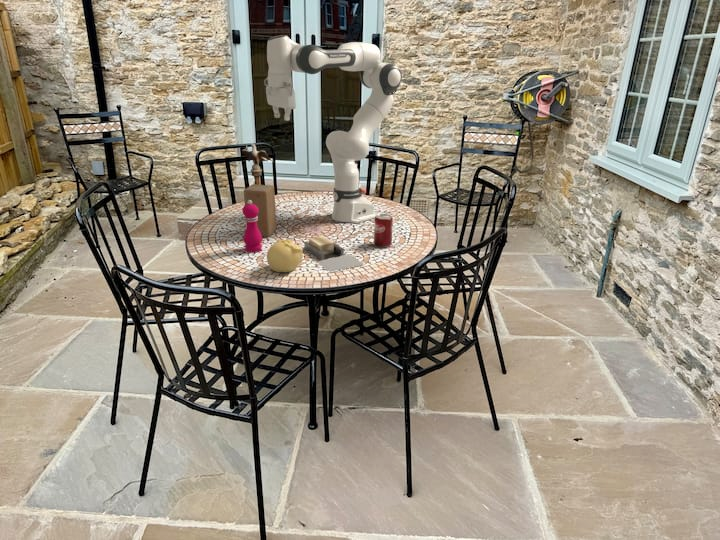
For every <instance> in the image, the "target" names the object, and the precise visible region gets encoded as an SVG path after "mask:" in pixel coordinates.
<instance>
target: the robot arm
mask: <svg viewBox="0 0 720 540" xmlns="http://www.w3.org/2000/svg"><path fill="white" fill-rule="evenodd" d="M266 58H267V59H266V61H267V64H268V71H267V77H266V78H265V79H264V86H266V87H265V94H266V100H267V101H266V102H267V104H268V105H270V106H272V110H273V114H274V118H276V119H279V118H280V117H281V112H280V111H279V109H280V108H281V109H284V112H285V113H284V115H283V121H290V120H291V113H292V110H295V109H296V107H297V99H296V92H295V89H294V88H293V85H292V84H293V83H292V81H293V80H292V79H293V78H292V72H296V73H304V74H308V75H315V74H319V73H320V72H322V71H323V70H325V69H330V68H332V69H333V68H339V69H341V70H342V71H346V72H359V79H360V83H361V84H362V85H363V86H364V87H366V88H368V89H371V93H370V95H369V97H368V98H367V99H366V100H365V101H364V103H363V104H362V106H360V108H358V110H357V112H356V113H355V114H354V116H353V118H352V119H353V120H352V121H353V124H352V125H351V127H350V130H348V131H344V130H334V131H331V132H330V133H329V134H327V136H326V139H325V144H326V148H327V149H328V152H329V154H330V158H331V162H332V166H333V167H332V168H333V173H334V188H333V200H334V201H333V210H332V214H331V219H332V220H333V221H336V222H339V223H351V224H360V223H362V222H366V221H369V220H372V219H375V216H376V215H378V214H379V213H378V212H377V211H375V209H374V205H373V203H372V202H371V201H370V200H369V199H367V198H366V197H365V196H364V195H363V194H366V193H367V190H366V189H364V188H361V187H360V186H359V185H360V181H359V178H360V171H359V168H358V167H357V166H356V162H355V161H362V160H364V159H366V157H367V156H368V155H369V151H370V141H371V139H372V136H373V134H374V132H375V131H376V130H377V129H378V127H379V126H380V125H381V123H382V121H384V119H385V118H386V117H387V116H388V113H389V112H390V110H391V109H392V107H393V105H394V102H395V100H394V96H393V95H394V94H396V92H397V91H398V88H399V87H400V85H401V83H402V78H403V72H402V70H401V68H399V67H398V66H397V65H396V64H394V63H387V62H382V61H381V51H380V49H379V47H378V46H377V45H376V44H373V43H369V42H364V41H361V42H359V41H351V42H347V43H342V44H340V45H339V46H338V48H337V49H323V48H322V47H319V46H317V45H316V44H306V45H305V44H299V43H297V42H295V41H293V40H292V39H290V37H289V36H288V35H286V34H280V35H279V34H278V35H275V36H271V37H270V38H268V40H267V46H266Z"/></svg>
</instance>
